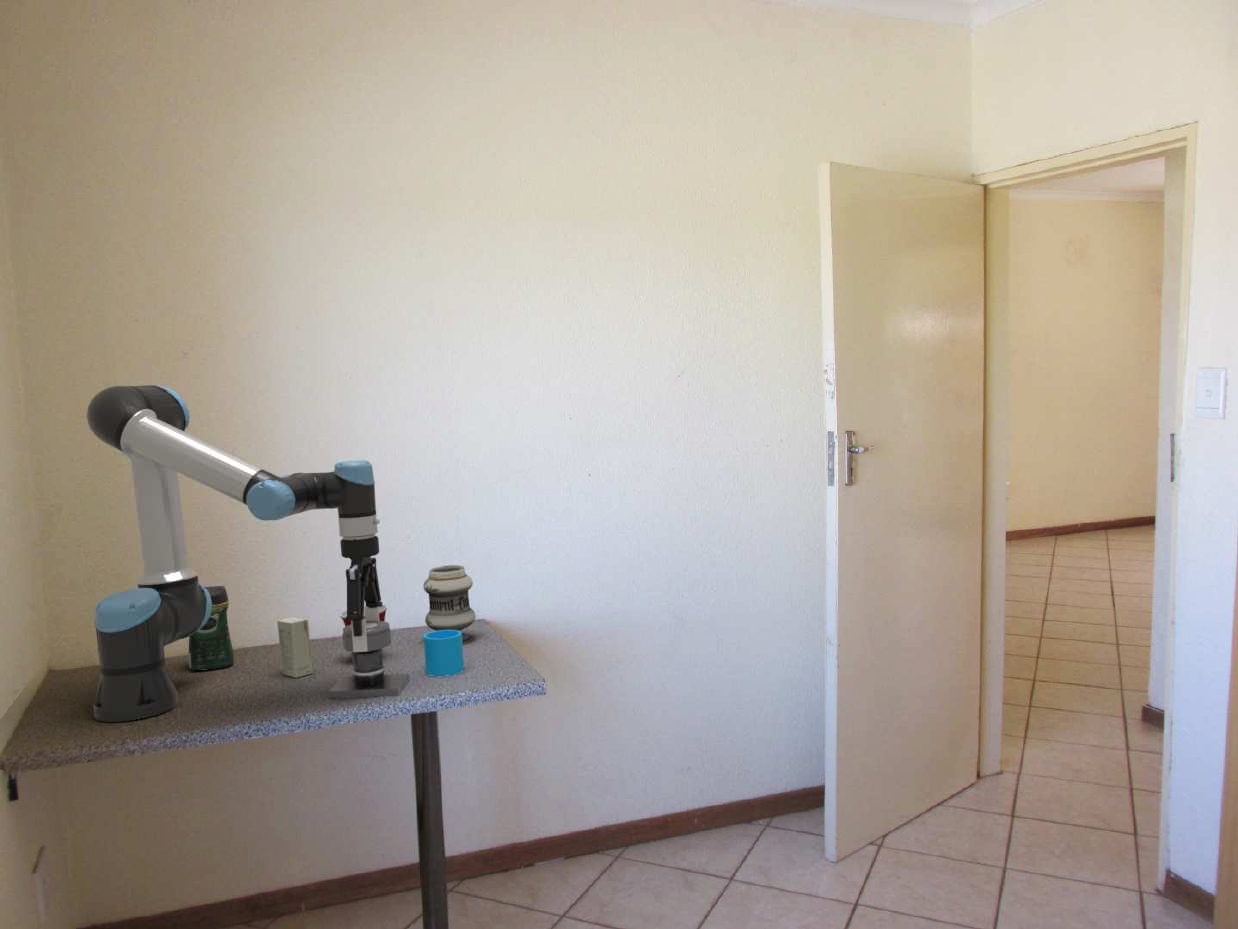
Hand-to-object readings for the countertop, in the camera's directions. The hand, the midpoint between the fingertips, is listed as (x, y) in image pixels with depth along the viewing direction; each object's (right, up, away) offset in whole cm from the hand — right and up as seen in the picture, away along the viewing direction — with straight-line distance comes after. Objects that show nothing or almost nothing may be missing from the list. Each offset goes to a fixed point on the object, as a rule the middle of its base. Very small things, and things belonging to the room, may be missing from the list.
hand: (367, 644), depth 200 cm
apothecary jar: (+11, -6, +37) cm, 39 cm away
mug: (+14, -8, +13) cm, 21 cm away
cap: (0, 0, 0) cm, 0 cm away
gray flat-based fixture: (0, -9, +1) cm, 9 cm away
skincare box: (-19, -9, +15) cm, 26 cm away
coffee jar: (-42, -10, +25) cm, 50 cm away
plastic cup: (-6, -8, +24) cm, 26 cm away
